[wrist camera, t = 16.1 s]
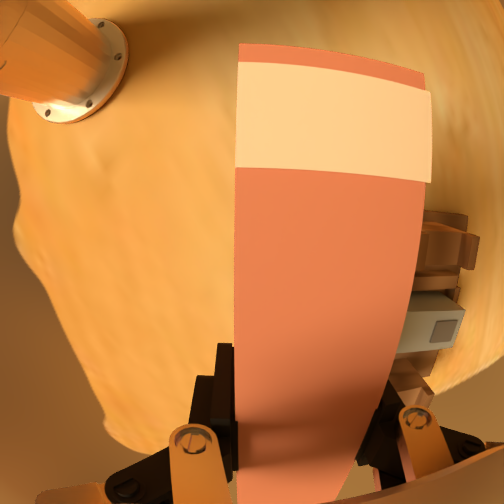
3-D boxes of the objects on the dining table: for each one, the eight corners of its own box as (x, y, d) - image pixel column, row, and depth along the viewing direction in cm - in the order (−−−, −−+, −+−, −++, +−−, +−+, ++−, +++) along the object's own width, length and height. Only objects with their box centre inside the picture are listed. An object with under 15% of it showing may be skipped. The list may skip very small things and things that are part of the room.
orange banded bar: (237, 482, 14) (239, 543, 10) (238, 96, 9) (239, 39, 4) (301, 478, 14) (313, 537, 10) (354, 106, 9) (428, 71, 5)
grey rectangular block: (341, 327, 30) (359, 357, 25) (349, 288, 29) (371, 313, 24) (428, 325, 31) (453, 348, 25) (438, 291, 30) (467, 311, 24)
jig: (305, 387, 34) (319, 439, 25) (324, 203, 28) (358, 216, 20) (425, 371, 34) (455, 408, 26) (462, 214, 29) (512, 229, 20)
